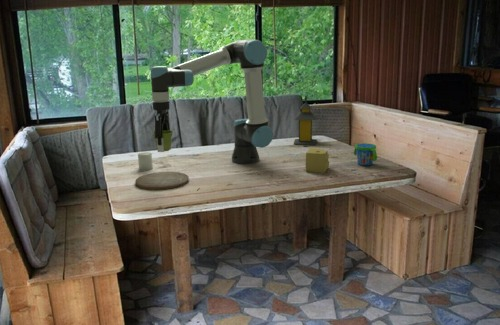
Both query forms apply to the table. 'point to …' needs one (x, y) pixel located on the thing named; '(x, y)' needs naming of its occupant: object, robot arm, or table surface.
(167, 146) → the plant pot
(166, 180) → the trivet
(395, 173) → the table surface
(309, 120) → the lantern
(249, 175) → the table surface
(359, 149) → the snack cup
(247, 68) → the robot arm
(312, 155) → the cheese
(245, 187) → the table surface
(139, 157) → the grey small cylinder
